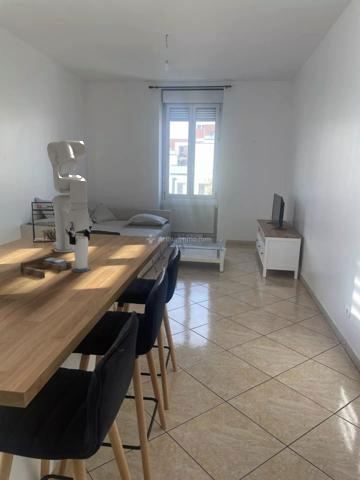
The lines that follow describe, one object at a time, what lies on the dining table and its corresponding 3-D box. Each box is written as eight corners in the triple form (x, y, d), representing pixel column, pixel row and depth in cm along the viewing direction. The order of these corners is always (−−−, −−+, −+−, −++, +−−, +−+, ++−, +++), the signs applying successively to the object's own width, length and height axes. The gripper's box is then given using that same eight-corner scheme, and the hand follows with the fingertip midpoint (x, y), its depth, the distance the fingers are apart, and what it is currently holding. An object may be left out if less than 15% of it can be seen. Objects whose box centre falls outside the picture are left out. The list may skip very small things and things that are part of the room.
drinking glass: (91, 267, 171) (90, 236, 167) (83, 271, 164) (82, 239, 161) (79, 265, 173) (78, 235, 169) (71, 269, 166) (70, 238, 163)
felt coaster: (67, 270, 166) (67, 269, 166) (80, 265, 174) (80, 264, 174) (82, 273, 162) (82, 272, 162) (94, 268, 170) (94, 267, 170)
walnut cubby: (21, 273, 160) (20, 262, 159) (51, 263, 176) (51, 254, 175) (42, 278, 154) (41, 267, 153) (71, 267, 170) (71, 257, 169)
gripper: (85, 203, 171) (86, 237, 175) (58, 207, 156) (60, 245, 160) (97, 204, 168) (98, 239, 172) (71, 209, 153) (73, 247, 157)
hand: (79, 242), depth 166 cm, fingers open, 9 cm apart
